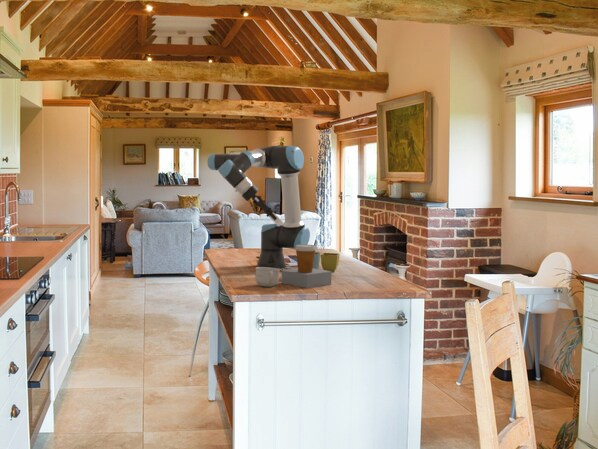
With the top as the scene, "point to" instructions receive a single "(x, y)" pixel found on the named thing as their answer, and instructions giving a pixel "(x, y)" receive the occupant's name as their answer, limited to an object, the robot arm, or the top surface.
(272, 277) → the teacup
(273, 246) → the robot arm
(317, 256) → the grey-green cup
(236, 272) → the top surface
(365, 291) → the top surface
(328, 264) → the flower pot
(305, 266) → the disposable coffee cup
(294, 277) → the riser block
